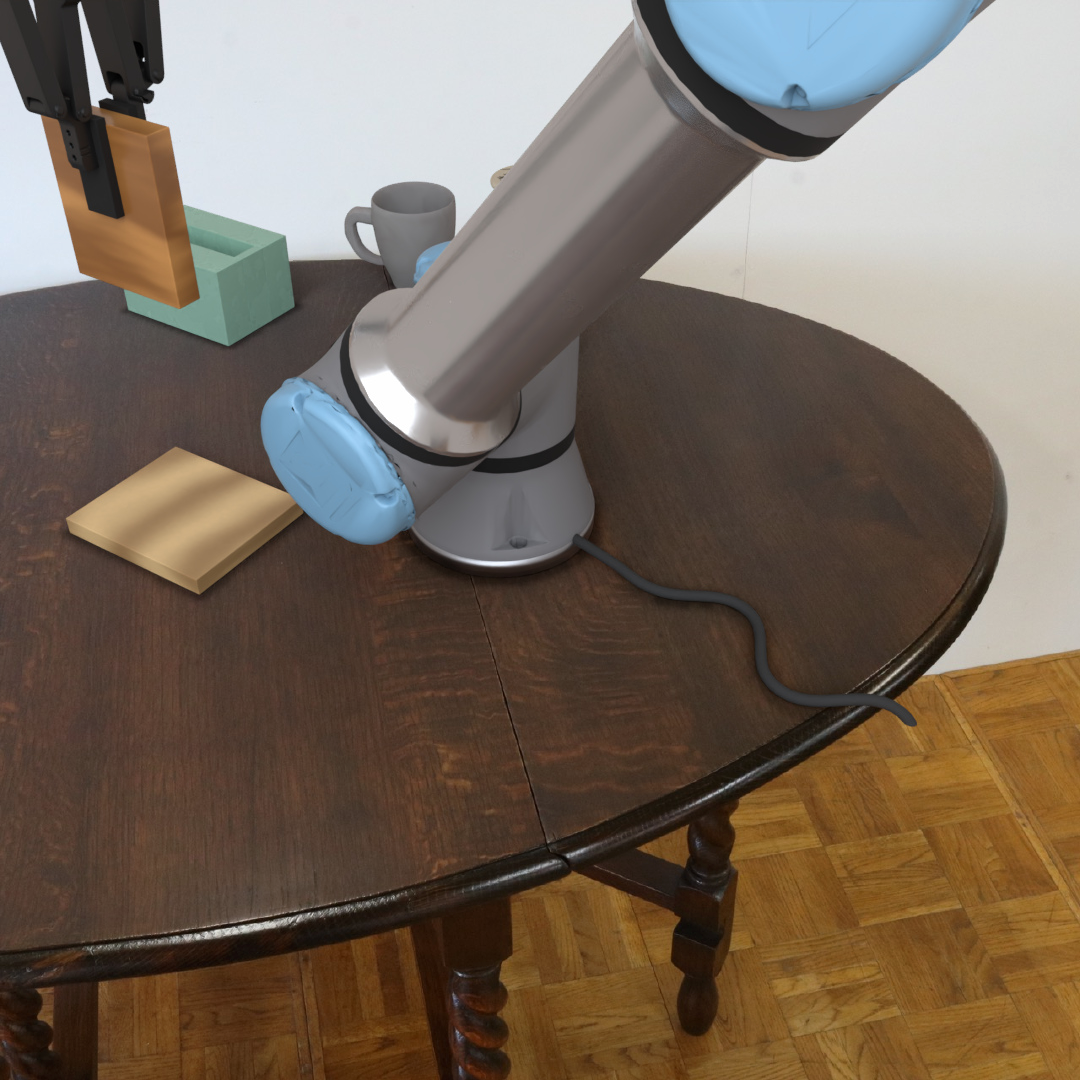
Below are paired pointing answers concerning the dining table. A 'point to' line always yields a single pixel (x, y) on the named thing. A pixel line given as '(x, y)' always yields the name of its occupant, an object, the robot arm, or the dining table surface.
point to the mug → (404, 226)
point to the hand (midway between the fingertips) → (122, 205)
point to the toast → (131, 213)
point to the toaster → (228, 280)
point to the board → (185, 518)
